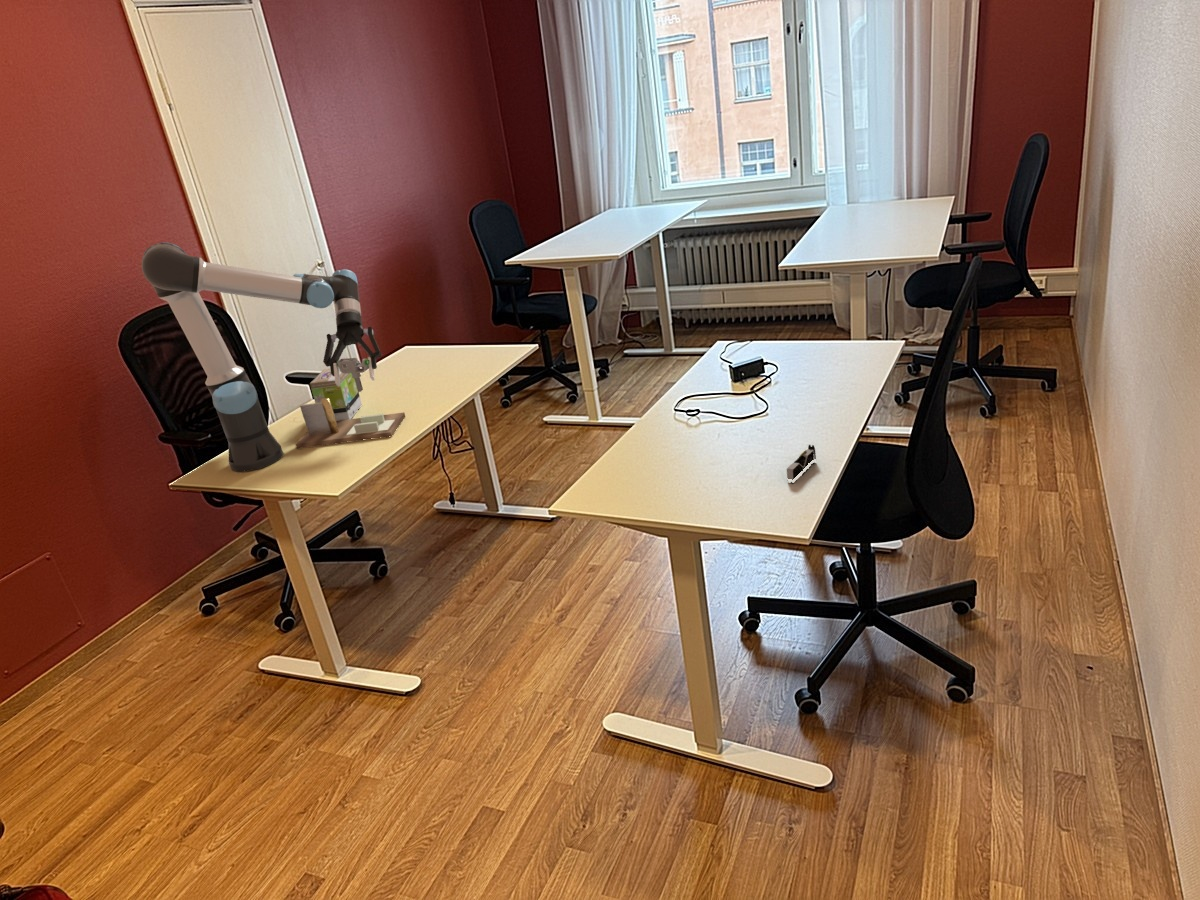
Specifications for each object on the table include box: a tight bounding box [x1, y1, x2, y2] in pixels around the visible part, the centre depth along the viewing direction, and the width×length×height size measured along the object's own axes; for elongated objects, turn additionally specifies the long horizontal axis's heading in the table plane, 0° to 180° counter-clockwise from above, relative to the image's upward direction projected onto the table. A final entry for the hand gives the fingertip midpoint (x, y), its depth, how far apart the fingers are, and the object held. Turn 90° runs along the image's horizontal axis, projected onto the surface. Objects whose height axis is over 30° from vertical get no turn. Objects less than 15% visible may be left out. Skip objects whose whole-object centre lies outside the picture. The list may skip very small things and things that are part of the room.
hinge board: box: [295, 398, 406, 449], centre depth 248 cm, size 30×16×12 cm, turn 88°
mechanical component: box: [336, 357, 370, 393], centre depth 240 cm, size 3×10×10 cm, turn 76°
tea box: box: [309, 368, 363, 421], centre depth 264 cm, size 15×10×15 cm
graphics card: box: [786, 444, 817, 480], centre depth 182 cm, size 12×3×5 cm, turn 142°
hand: (355, 381), depth 238 cm, fingers closed on mechanical component, 9 cm apart
